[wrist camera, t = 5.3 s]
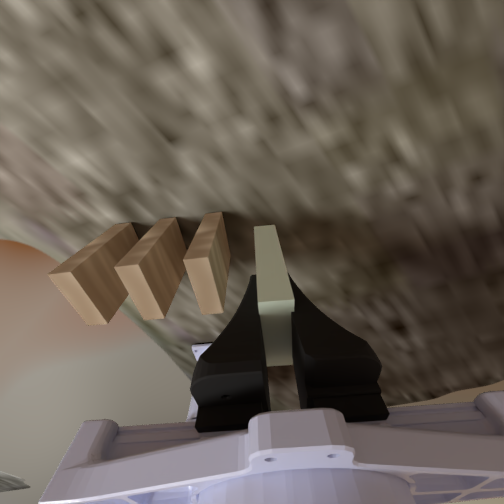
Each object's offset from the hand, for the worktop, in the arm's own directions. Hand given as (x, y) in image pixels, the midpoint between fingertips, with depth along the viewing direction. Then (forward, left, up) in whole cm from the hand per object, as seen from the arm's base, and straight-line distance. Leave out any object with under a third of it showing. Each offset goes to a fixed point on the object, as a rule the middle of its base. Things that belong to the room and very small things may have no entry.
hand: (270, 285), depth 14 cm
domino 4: (0, 0, -4) cm, 4 cm away
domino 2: (0, +9, -8) cm, 12 cm away
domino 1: (0, +14, -8) cm, 16 cm away
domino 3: (0, +5, -8) cm, 9 cm away
